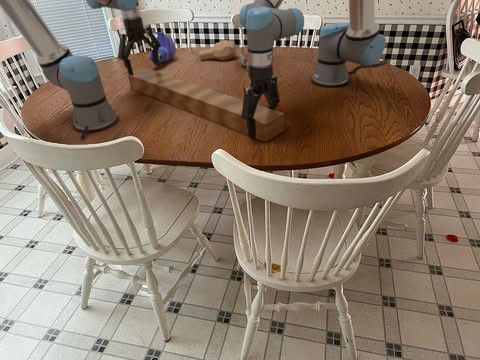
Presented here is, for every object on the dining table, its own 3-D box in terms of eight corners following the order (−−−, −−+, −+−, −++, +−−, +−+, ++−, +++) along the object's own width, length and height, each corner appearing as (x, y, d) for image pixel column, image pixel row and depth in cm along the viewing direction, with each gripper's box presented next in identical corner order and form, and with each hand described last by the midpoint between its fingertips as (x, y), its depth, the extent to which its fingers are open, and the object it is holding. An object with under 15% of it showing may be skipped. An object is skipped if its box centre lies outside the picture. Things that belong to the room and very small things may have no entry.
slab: (131, 88, 160) (127, 74, 156) (148, 82, 165) (145, 68, 161) (266, 142, 115) (265, 123, 111) (283, 131, 120) (284, 113, 117)
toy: (164, 64, 198) (143, 70, 176) (159, 31, 191) (137, 33, 169) (180, 63, 196) (162, 69, 173) (176, 30, 189) (156, 32, 167)
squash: (238, 60, 183) (235, 44, 177) (201, 68, 185) (196, 51, 179) (237, 51, 191) (234, 34, 185) (201, 58, 193) (197, 42, 186)
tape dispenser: (258, 80, 163) (278, 64, 175) (258, 69, 159) (279, 54, 172) (226, 73, 170) (248, 58, 183) (226, 62, 167) (248, 48, 179)
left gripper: (109, 26, 133) (124, 80, 145) (162, 11, 147) (172, 62, 159) (99, 23, 137) (114, 77, 150) (151, 10, 151) (161, 59, 164)
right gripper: (245, 77, 99) (248, 146, 112) (292, 57, 112) (290, 121, 125) (226, 72, 103) (231, 139, 117) (273, 53, 116) (273, 115, 129)
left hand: (144, 69), depth 155 cm, fingers open, 13 cm apart
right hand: (261, 130), depth 121 cm, fingers closed on slab, 9 cm apart
